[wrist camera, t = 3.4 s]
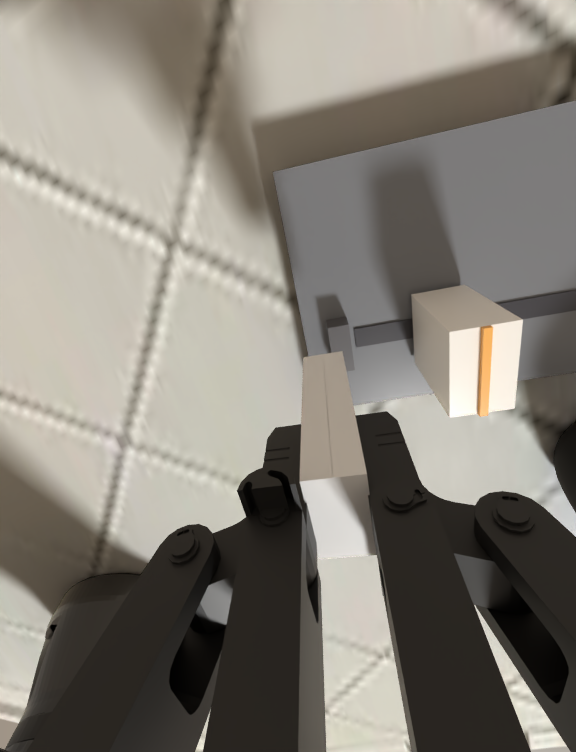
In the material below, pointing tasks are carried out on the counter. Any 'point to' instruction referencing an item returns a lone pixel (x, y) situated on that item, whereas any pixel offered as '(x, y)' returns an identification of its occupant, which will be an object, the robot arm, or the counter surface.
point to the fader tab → (466, 350)
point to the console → (436, 243)
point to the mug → (567, 463)
